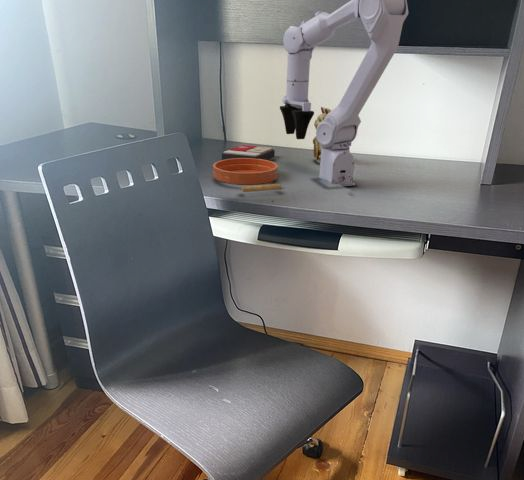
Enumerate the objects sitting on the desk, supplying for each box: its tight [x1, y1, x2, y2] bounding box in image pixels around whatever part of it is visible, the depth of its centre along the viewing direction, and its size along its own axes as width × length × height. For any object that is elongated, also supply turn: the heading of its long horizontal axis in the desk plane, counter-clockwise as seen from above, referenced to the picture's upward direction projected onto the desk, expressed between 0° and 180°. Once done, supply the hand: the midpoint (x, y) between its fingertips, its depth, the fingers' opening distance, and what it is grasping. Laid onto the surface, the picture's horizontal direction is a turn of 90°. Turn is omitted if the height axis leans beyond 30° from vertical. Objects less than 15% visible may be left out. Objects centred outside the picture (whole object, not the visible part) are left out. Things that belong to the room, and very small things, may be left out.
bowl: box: [212, 158, 279, 186], centre depth 141 cm, size 17×17×4 cm
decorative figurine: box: [312, 106, 332, 164], centre depth 158 cm, size 10×8×15 cm
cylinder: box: [240, 183, 282, 193], centre depth 131 cm, size 10×2×2 cm, turn 109°
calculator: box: [221, 144, 276, 161], centre depth 158 cm, size 11×4×15 cm
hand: (295, 136), depth 146 cm, fingers open, 7 cm apart
